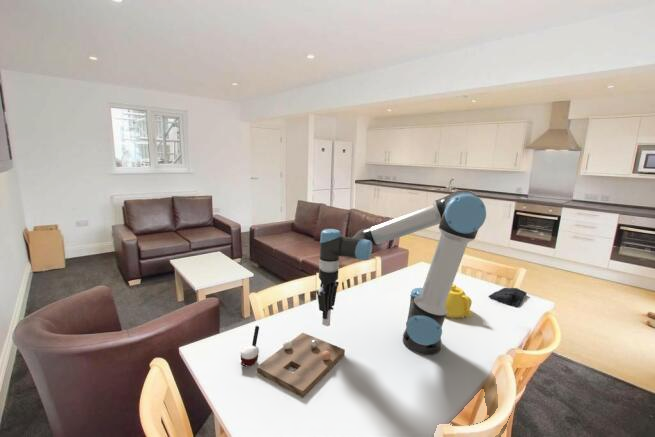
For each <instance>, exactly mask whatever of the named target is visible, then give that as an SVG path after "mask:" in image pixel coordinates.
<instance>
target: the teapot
mask: <svg viewBox="0 0 655 437" xmlns="http://www.w3.org/2000/svg"><path fill="white" fill-rule="evenodd" d="M472 304H473V302H472V299H471V298H470V297H469V296H468V295H467V294H466V293H465V291H464V289H462V288H460V287H458V286H457V285H455V284H454V283H453V284H452V287H451V290H450V292H449V295H448V298H447V300H446V303H445V307H446V308H447V314H446V317H445V318H450V319H462V318H463V317H465V316H466V317H468V318H469V317H472V316H473V314H472V311H471V307H472Z"/></svg>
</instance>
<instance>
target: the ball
mask: <svg viewBox="0 0 655 437" xmlns="http://www.w3.org/2000/svg"><path fill="white" fill-rule="evenodd" d="M310 347H311V348H312V349H316V348H317V347H318V342H317V341H316V340H312V341H311V342H310Z"/></svg>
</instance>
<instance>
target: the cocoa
mask: <svg viewBox="0 0 655 437" xmlns="http://www.w3.org/2000/svg"><path fill="white" fill-rule="evenodd" d="M259 331H260V326H258V325H255V327H254V333H253V338H252V344H251V345H248V346H246V347H244V348H242V349H241V350H240V352H239V354H240V360H241V361H240V365H241V367H251V366H254V365H256V363H257V362H258V360H259V353H260V349H259V347H258V346H257V342H258V336H259Z"/></svg>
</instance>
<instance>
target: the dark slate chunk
mask: <svg viewBox="0 0 655 437" xmlns="http://www.w3.org/2000/svg"><path fill="white" fill-rule="evenodd" d="M526 296H527V292H526V291H524V290H521V289H519V288H517V287H503V288H501V289H500V290H497V291H494V292H493V293H491V294H490V295H488V299H490V300H493V301H496V302H498V303H500V304H503V305H506V306H511V307H515V308H518V307H519V306H520V305H521V304H522V302H523V301H524V299H525V297H526Z"/></svg>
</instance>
